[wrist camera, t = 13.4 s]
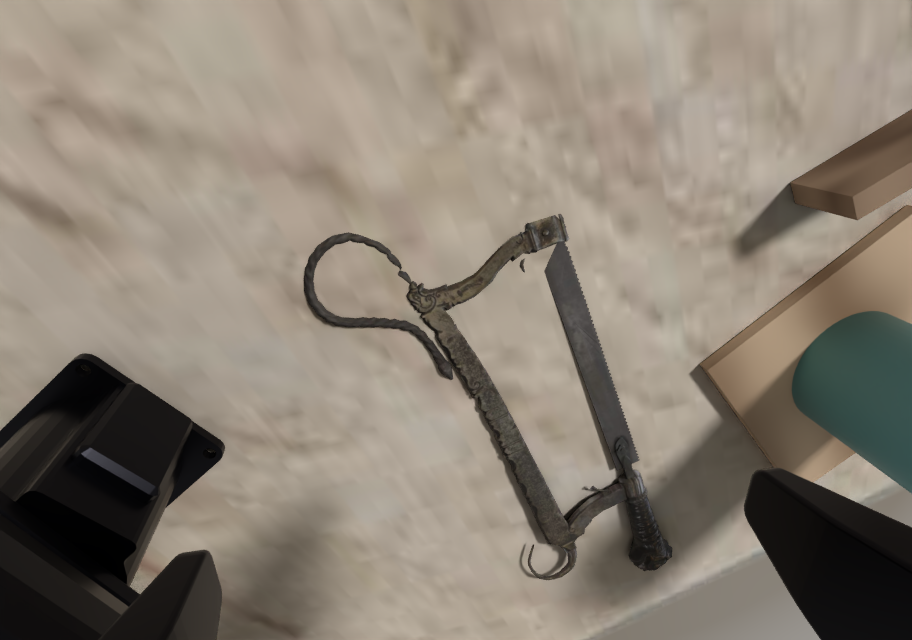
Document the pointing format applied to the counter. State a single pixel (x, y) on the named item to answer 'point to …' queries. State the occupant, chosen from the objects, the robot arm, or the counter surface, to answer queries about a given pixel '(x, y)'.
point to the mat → (793, 330)
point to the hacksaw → (577, 321)
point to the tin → (862, 389)
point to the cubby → (861, 173)
